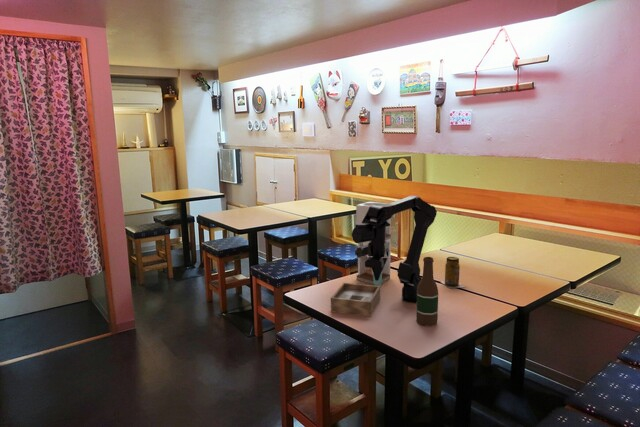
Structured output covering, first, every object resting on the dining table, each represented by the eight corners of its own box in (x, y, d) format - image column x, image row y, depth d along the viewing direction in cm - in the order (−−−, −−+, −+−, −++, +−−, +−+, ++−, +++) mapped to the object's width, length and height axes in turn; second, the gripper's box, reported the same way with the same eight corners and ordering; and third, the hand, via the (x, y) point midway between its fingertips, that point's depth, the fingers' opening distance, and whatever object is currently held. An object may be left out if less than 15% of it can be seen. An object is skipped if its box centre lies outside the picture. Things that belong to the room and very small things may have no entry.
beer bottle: (433, 328, 155) (435, 262, 151) (412, 323, 159) (413, 259, 155) (440, 320, 162) (442, 256, 157) (419, 315, 166) (421, 253, 161)
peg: (382, 283, 171) (382, 262, 169) (381, 285, 168) (381, 265, 166) (374, 282, 171) (374, 262, 170) (372, 285, 168) (372, 264, 167)
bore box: (380, 299, 182) (380, 286, 181) (370, 316, 166) (370, 302, 165) (343, 295, 187) (343, 282, 186) (330, 311, 171) (330, 298, 170)
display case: (356, 279, 206) (356, 204, 200) (369, 273, 214) (369, 201, 207) (377, 284, 199) (377, 207, 192) (390, 278, 207) (390, 204, 200)
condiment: (455, 280, 202) (456, 255, 200) (464, 287, 194) (466, 260, 192) (440, 282, 200) (441, 256, 198) (449, 288, 192) (450, 262, 190)
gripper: (362, 232, 177) (362, 269, 180) (350, 243, 160) (351, 285, 163) (390, 233, 174) (389, 272, 177) (381, 245, 157) (381, 288, 159)
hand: (377, 279), depth 169 cm, fingers closed on peg, 3 cm apart
